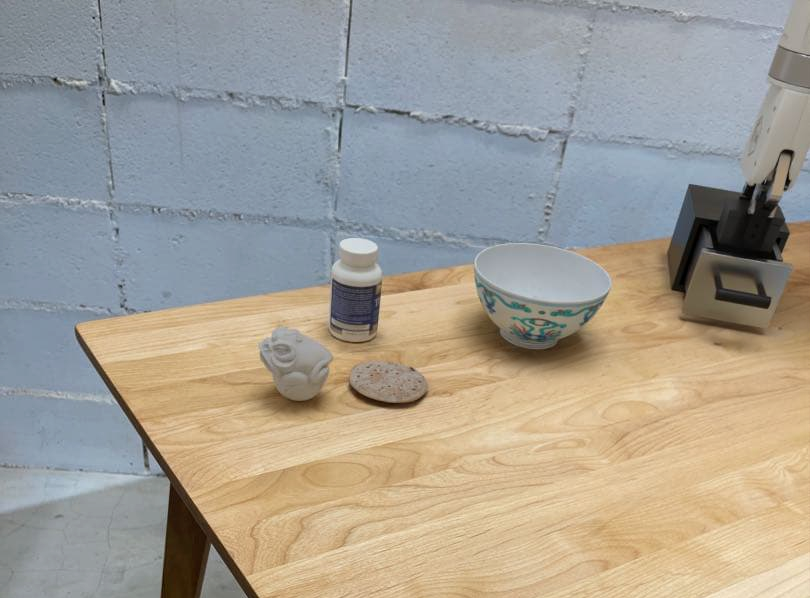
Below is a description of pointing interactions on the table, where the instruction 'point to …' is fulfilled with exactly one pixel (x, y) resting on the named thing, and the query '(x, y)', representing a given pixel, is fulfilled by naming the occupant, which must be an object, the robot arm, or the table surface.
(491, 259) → the chinaware
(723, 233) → the dark grey block
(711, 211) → the cabinet
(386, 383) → the flatbread
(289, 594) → the table surface
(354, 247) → the pill bottle
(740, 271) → the drawer
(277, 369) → the frog figurine
